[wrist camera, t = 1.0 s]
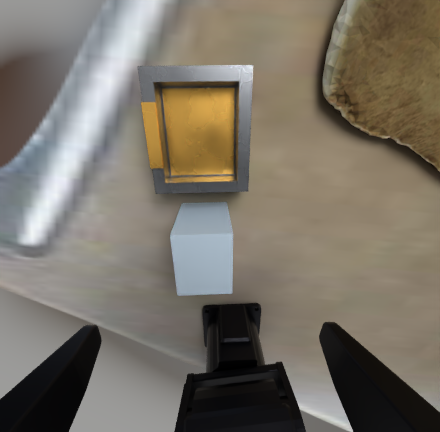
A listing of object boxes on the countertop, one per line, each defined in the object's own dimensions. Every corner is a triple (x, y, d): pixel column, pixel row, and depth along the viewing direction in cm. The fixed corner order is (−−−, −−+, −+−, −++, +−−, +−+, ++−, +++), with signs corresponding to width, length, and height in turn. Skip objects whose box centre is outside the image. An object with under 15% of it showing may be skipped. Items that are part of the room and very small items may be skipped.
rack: (242, 181, 18) (248, 192, 15) (163, 183, 18) (154, 195, 15) (245, 74, 15) (254, 63, 12) (149, 76, 15) (135, 64, 12)
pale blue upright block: (226, 249, 21) (232, 293, 16) (186, 250, 21) (177, 295, 15) (226, 201, 19) (232, 233, 14) (182, 202, 19) (170, 235, 13)
